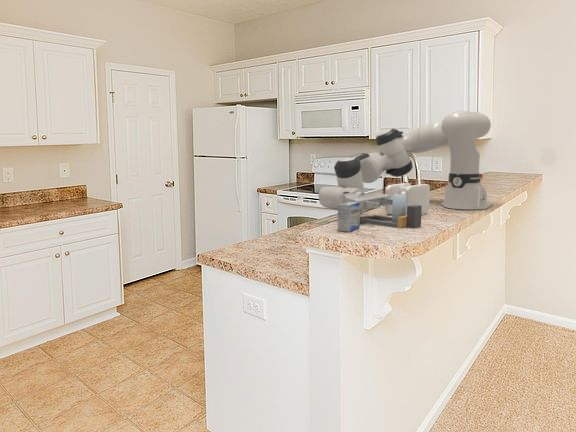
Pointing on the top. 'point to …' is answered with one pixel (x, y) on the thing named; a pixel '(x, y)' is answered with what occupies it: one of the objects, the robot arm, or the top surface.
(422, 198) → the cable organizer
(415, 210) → the comb channel
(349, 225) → the medicine box
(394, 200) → the marker sleeve
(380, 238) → the top surface
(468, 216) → the top surface
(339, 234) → the top surface
